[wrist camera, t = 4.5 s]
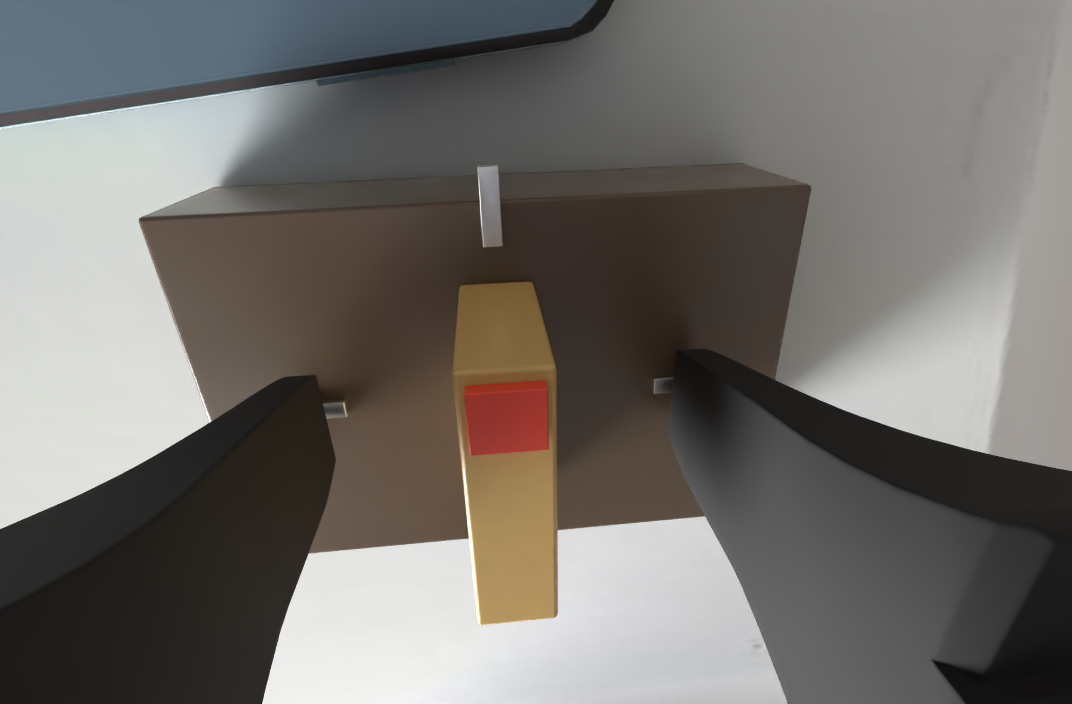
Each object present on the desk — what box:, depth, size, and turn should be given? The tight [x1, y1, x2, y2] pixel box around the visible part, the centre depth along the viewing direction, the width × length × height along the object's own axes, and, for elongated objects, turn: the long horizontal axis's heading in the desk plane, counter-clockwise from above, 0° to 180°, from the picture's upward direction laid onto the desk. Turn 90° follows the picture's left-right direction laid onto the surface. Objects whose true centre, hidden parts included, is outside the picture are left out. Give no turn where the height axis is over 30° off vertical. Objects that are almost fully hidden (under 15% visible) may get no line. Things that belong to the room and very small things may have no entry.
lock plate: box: [139, 163, 811, 553], centre depth 13 cm, size 12×9×3 cm
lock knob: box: [452, 282, 558, 625], centre depth 10 cm, size 5×1×4 cm, turn 1°
